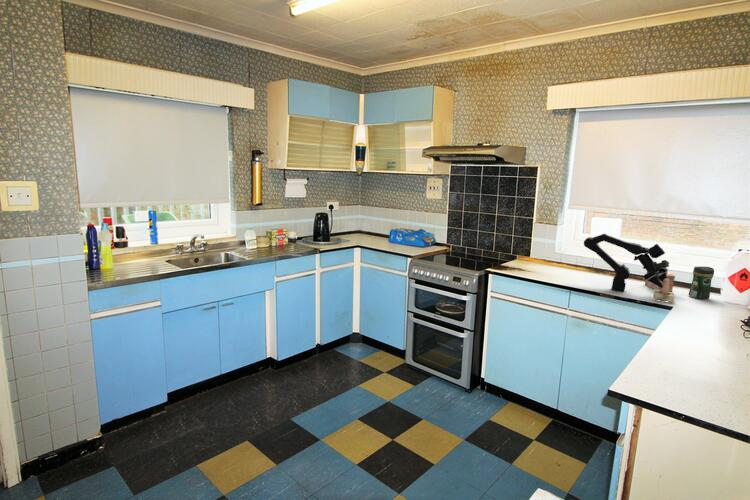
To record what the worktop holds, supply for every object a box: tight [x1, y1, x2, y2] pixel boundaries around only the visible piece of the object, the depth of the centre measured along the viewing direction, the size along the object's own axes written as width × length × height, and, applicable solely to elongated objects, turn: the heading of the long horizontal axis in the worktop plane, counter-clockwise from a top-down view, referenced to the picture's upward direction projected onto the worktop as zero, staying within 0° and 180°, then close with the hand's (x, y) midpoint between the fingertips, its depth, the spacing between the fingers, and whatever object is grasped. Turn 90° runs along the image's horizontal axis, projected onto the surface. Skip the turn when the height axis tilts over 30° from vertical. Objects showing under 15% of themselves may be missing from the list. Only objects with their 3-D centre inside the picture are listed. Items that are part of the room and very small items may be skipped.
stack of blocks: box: [644, 271, 676, 292], centre depth 261 cm, size 21×6×12 cm, turn 170°
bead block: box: [653, 290, 675, 303], centre depth 242 cm, size 9×9×4 cm
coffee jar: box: [688, 266, 715, 300], centre depth 248 cm, size 10×8×19 cm
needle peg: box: [661, 278, 670, 295], centre depth 242 cm, size 3×3×12 cm
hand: (665, 286), depth 241 cm, fingers open, 9 cm apart
